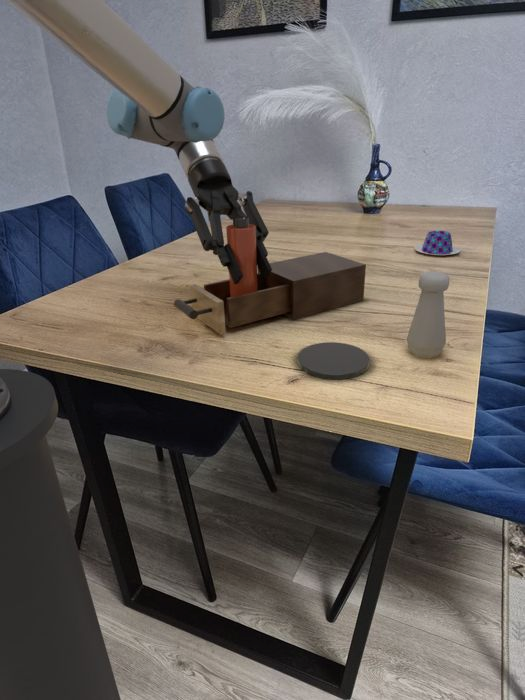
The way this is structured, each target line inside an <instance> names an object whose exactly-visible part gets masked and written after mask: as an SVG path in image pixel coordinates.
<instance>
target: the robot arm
mask: <svg viewBox="0 0 525 700" xmlns="http://www.w3.org/2000/svg"><path fill="white" fill-rule="evenodd" d="M5 1H6V2H7V3H9V4H10V5H11V6H12V7H13V8H15V9H16V10H18V11H19V12H20V13H21V14H22V15H24V16H25V17H26V18H27V19H29V20H30V21H31V22H32V23H34V24H35V25H36V26H38V27H39V29H41V30H42V31H44V32H45V33H46V34H47V35H49V36H50V37H51V38H52V39H54V40H55V41H56V42H57V43H59V45H61V46H62V47H63V48H65V49H66V50H67V51H68V52H70V53H71V54H72V55H73V56H75V58H77V59H78V60H80V61H81V62H82V63H83V64H85V65H86V66H88V67H89V68H90V69H91V70H92V71H93V72H95V74H97V75H99V76H100V77H101V78H102V79H103V80H104V81H106V82H107V83H109V84H110V85H111V86H112V87H113V88H114V90H113V91H112V92H111V94H110V96H109V98H108V101H107V106H106V107H107V108H106V109H107V110H106V119H107V123H108V126H109V127H110V130H111V131H112V132H114V133H115V134H116V135H120V136H123V137H126V138H127V139H128V140H129V139H133V140H136V141H137V140H138V141H142V142H146V143H149V144H150V143H151V144H154V145H158V146H161V147H165V148H169V149H173V150H174V152H175V155H176V156H177V159H178V161H179V163H180V165H181V168H182V170H183V172H184V175H185V177H186V178H187V181H188V184H189V186H190V189H191V191H192V193H193V195H194V196H195V197H191V196H188V197H187V198H186V201H185V204H184V206H183V209H184V211H185V212H186V213H187V215H189V217H190V219H191V221H192V224H193V227H194V228H195V231H196V234H197V236H198V239H199V241H200V243H201V246H202V249H203V250H204V251H205V252H209V251H212V254H213V255H214V256H217V257H218V259H219V260H218V261H219V262H220V265H221V266H222V267H223V268H227V271H228V274H229V273H230V275H231V277H232V279H233V282H234V284H238V283H239V282H240V280H241V278H242V277H243V274H242V272H241V269H240V267H239V265H238V263H237V260H236V258H235V256H234V254H233V251H232V249H231V247H230V245H229V244H227V243H226V244H225V239H224V233H223V232H224V231H223V226H222V218H221V216H222V215H224V216H227V218H228V219H229V220H230V221H233V218H234V217H239V216H245V217H249V224H253V225H255V226H256V246H257V266H258V268H259V270H260V272H261V275H262V277H263V278H267V276H268V275H269V274H270V272H271V271H272V268H271V266H270V264H269V263H270V262H269V260H268V256H269V252H268V250H267V248H266V246H265V244H264V242H265V240H266V239H267V237H268V236H269V233H270V232H269V230H268V227H267V226H266V224H265V221H264V220H263V218H262V216H261V214H260V212H259V209H258V208H257V206H256V204H255V202H254V195H253V192H252V191H250V190H248V191H246V192H245V193H244V192H243V193H242V192H239V191H238V189H236V188H235V187H234V186H233V182H232V178H231V175H230V173H229V171H228V169H227V167H226V165H225V163H224V160H223V157H222V156H221V153H220V151H219V149H218V146H217V145H216V143H215V141H214V139H216V138H217V137H218V136H219V135H220V133H221V131H222V129H223V126H224V123H225V108H224V104H223V102H222V99H221V97H220V96H219V94H218V93H217V92H216V91H214V90H213V89H211V88H208V87H202V86H195V87H194V86H193V85H191V84H190V83H189V82H188V81H187V80H186V79H185V78H183V76H182V75H180V73H178V72H177V70H175V69H174V68H173V67H172V66H171V64H169V63H168V62H167V61H166V60H165V59H164V58H163V57H162V56H161V55H160V54H159V53H157V51H155V49H153V48H152V46H150V44H148V42H146V41H145V40H144V39H143V38H142V37H141V36H140V35H139V34H138V33H137V32H136V31H135V30H134V29H133V28H131V26H129V25H128V24H127V23H126V21H124V20H123V19H122V18H121V17H120V16H119V15H118V14H117V13H116V12H115V11H114V10H113V9H112V8H111V7H110V6H109V5H107V3H105V2H104V1H103V0H5ZM238 201H239V202H238ZM201 208H202V209H203V210H205V211H206V212H207V218H208V222H209V226H210V229H209V226H208V223H207V221H206V217H204V213H203V211H202V209H201ZM11 403H12V400H11V396H10V393H9V390H8V388H7V386H6V384H5V383H4V381H3V380H2V379H1V378H0V420H1V419H2V418H3V417H4V416H5V415H6V413H7V412H8V411H9V409H10V407H11Z"/></svg>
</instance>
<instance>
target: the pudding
mask: <svg viewBox="0 0 525 700" xmlns="http://www.w3.org/2000/svg"><path fill="white" fill-rule="evenodd" d="M413 249H414V250H415V251H417V252H419V253H422V254H426V255H428V256H441V257H442V256H450V255H455V254H459V253H460V252H461V248H460V247H457V246H455V245H453V241H452V234H451V232H449V231H446V230H430V231H428V233H427V234H426V237H425V239H424V242H423V244H417V245H415V246H414V247H413Z"/></svg>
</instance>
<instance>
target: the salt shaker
mask: <svg viewBox="0 0 525 700" xmlns="http://www.w3.org/2000/svg"><path fill="white" fill-rule="evenodd" d="M417 285H418V288H419V289H420V290H421V291H420V293H419V297H418V301H417V304H416V308H415V310H414V314H413V317H412V321H411V324H410V328H409V330H408V334H407V337H406V341H407V344H408V348H409V352H410V353H411V354H412V355H414V356H415V357H417V358H421V359H429V360H430V359H433V358H436V357H438V356H439V355H440V354H441V352H442V350H444V348H445V346H446V343H447V334H446V332H447V331H446V319H445V318H446V317H445V316H446V315H445V299H444V298H445V297H444V296H445V295H444V294H445V293H444V292H446V291H448V289H449V286H450V276H449V275H448V274H446V273H445V272H441V271H436V270H435V271H434V270H430V271H425V272H422V273H421V274H420V276H419V279H418V284H417Z"/></svg>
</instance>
